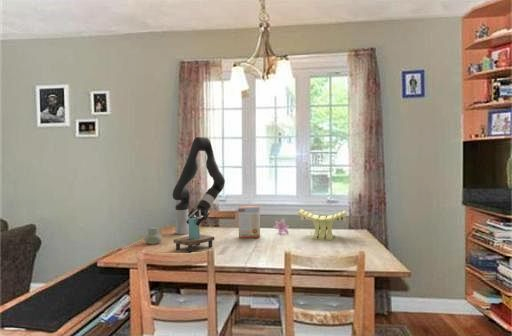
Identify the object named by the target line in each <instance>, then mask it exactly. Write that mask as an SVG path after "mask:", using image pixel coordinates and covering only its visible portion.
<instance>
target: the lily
mask: <svg viewBox="0 0 512 336" xmlns="http://www.w3.org/2000/svg"><path fill="white" fill-rule="evenodd" d="M285 220H286V219H284V218H282V219H281V220H280V221H278V220H275V225H273V227H272V229H275V230H278V234H279V235H281V234H283V233H285V234H287V235H289V234H290V233H289V230H288V228H289V227H290V225H288V224H286V221H285Z"/></svg>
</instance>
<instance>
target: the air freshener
mask: <svg viewBox="0 0 512 336" xmlns="http://www.w3.org/2000/svg"><path fill="white" fill-rule="evenodd" d="M147 231H148V234H146V236H145V237H144V242H145V243H147V244H148V245H151V244H154V245H158V244H159V243H161V242H162V240H163V237H162V235H161V234H159V228H158V227H156V226H152V227H151V226H150V227H148V230H147Z"/></svg>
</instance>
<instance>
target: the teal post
mask: <svg viewBox="0 0 512 336" xmlns="http://www.w3.org/2000/svg"><path fill="white" fill-rule="evenodd" d="M198 219H200V217H196V218H189V233H188V236H189V238H190V239H197V238H200V234H201V233H200V225H199V226H197V225H196V222H197V221H198Z"/></svg>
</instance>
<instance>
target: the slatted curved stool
mask: <svg viewBox="0 0 512 336" xmlns="http://www.w3.org/2000/svg"><path fill="white" fill-rule="evenodd" d="M297 213H298V217H300V221H304V220H309V221H311V222H312V223H313V225H314V230H315V231H314V233H313V235H312V237H311V240H330V241H332V240H333V237H334V235H333V224H334V223H335V222H337V221H343V222H347V210H346V209H344V210H343V211H340V212H338V213H335V214H331V215H330V214H329V215H319V214H313V213H312V212H309V211H307V210H306V211H305V209H303V208H300V209H299V210H298V212H297Z"/></svg>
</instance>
